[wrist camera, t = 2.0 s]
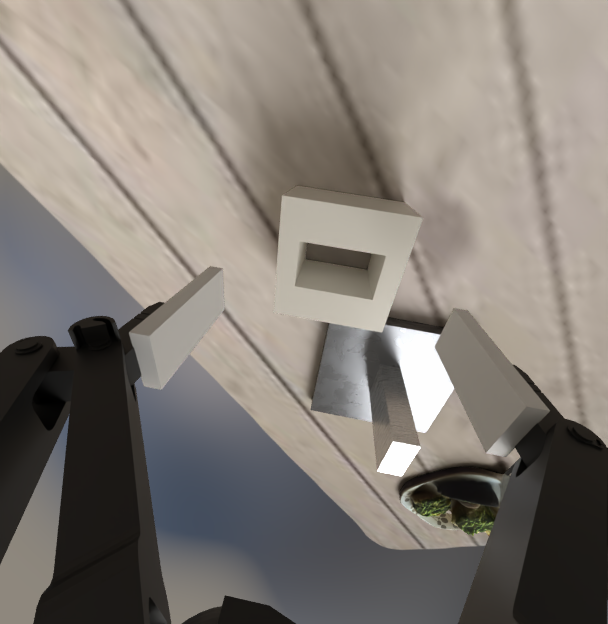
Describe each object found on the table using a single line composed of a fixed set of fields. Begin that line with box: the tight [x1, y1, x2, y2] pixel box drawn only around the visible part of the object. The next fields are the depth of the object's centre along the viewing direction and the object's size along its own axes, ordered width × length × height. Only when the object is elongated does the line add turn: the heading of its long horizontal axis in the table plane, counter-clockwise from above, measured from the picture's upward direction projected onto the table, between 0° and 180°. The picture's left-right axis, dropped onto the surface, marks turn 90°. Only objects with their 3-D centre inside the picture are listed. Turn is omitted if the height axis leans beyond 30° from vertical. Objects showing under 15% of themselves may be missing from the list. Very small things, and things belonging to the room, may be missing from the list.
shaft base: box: [311, 318, 454, 476], centre depth 26 cm, size 15×15×10 cm
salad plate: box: [400, 467, 510, 536], centre depth 41 cm, size 19×18×5 cm
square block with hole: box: [273, 186, 423, 332], centre depth 21 cm, size 9×9×6 cm
